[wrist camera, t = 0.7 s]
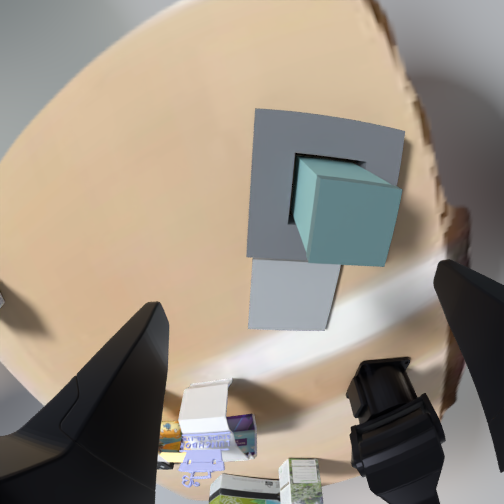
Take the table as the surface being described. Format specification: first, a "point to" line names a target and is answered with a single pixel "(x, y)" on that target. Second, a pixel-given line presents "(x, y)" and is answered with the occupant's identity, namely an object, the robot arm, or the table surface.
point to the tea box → (244, 490)
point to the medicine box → (1, 301)
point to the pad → (291, 294)
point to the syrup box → (300, 482)
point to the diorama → (207, 432)
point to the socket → (282, 164)
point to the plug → (343, 212)
